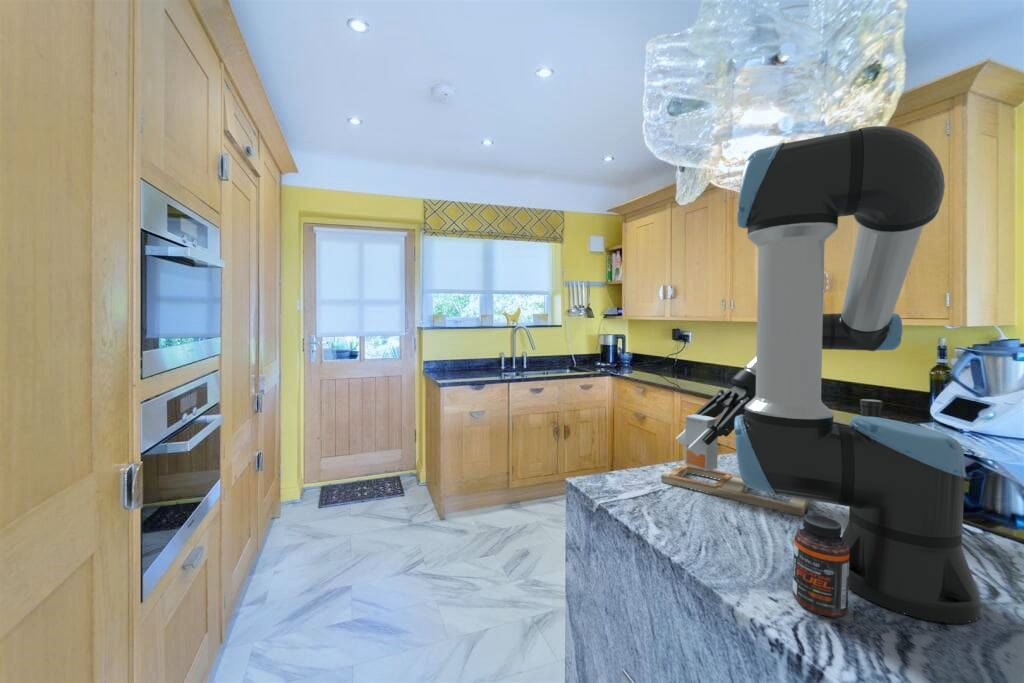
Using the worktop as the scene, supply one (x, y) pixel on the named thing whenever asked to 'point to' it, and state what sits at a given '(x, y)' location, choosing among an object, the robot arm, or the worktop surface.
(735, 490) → the socket rail
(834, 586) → the supplement bottle
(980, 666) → the worktop surface
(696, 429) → the skincare box
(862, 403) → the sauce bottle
